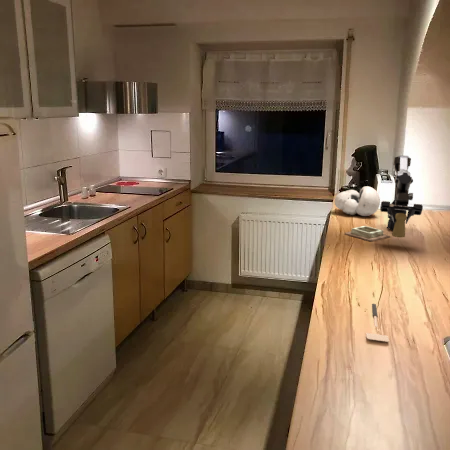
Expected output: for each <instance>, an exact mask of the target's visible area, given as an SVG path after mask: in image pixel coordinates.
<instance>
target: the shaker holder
mask: <svg viewBox="0 0 450 450" xmlns="http://www.w3.org/2000/svg"><path fill="white" fill-rule="evenodd" d="M344 235H346V236H349V237H352V238H356V239H360V240H364V241H368V242H375V241H379V240H383V239H387V238H390V235H388V234H385V233H384V229H381V228H380V229H379V228H375V227H372V226H368V225H362V226H357V227H353V228H351V229H350V231H347V232H344Z"/></svg>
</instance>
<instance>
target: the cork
mask: <svg viewBox="0 0 450 450" xmlns="http://www.w3.org/2000/svg"><path fill="white" fill-rule="evenodd" d="M406 218H407V213H406V214H404V213H397V214H396V215H395V219H396V222H395V225H394V229H393V230H392V234H391V236H393V237H395V238H405V237H406Z"/></svg>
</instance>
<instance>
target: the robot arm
mask: <svg viewBox="0 0 450 450" xmlns="http://www.w3.org/2000/svg"><path fill="white" fill-rule="evenodd" d="M411 163H412V158H411V157H409V155H403V154H402V155H398V156H395V157H394V158H393V166H394V167H393V169H394V171H395V173H396V175H395V177H394V183H395V188H394V189H395V190H394V197H393V198H394V199H393V200H392V202H391V201H386V200H382V201H381V202H380V203H381V204H380V212H381V213H382V212H383V213H387V219H388V220H387V226H386V229H388V230H391V231H393V229H394V225H395V222H396V219H395V215H396V214H397V213H404V214H406V216H407V218H406V220H405V225H406V224H408V222H409V220H410V219H411V217H414V216H422V213H423V208H424V207H423V205H422V204H419V203H413V206H410V205H409V203H410V201H413V198H414V193H413V192H409V191H410V190H409V189H410V187H411V184H412V183H414V179H413V177H412V176H411V173H410V171H409V167H410V166H411ZM408 205H409V206H408Z"/></svg>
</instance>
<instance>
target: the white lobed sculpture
mask: <svg viewBox="0 0 450 450" xmlns="http://www.w3.org/2000/svg"><path fill="white" fill-rule="evenodd" d="M380 203H381V197H380V195H379V193H378V191H377V190H376V189H375V188H373V186H372V187H371V186H368V185H367V186H363V187H362V188H361V189H360V190H359V192H358V191H357V190H355V189H348V190H345V191H341V192H339V193H337V194H336V196H335V197H334V205H335V207H336V208H337V209H339V210H342V212H343V213H345V214H346V215H350V216H354V215H356V214H357V215H359V216H362V217H368V216H371V215H374V214H375V213H377V211H378V210H379V207H380V206H381V204H380Z"/></svg>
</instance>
